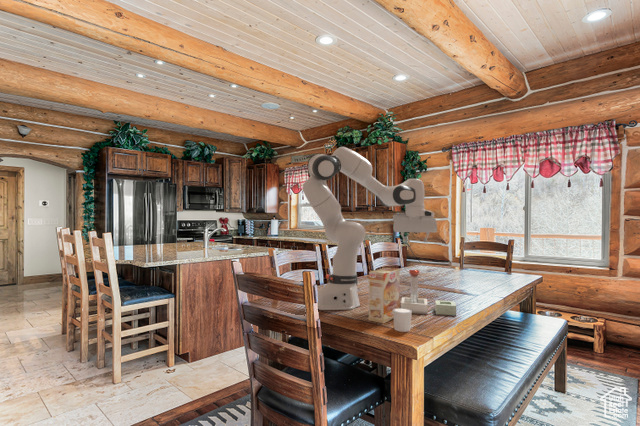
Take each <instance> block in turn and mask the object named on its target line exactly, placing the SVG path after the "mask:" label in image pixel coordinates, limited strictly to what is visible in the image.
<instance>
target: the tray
mask: <svg viewBox="0 0 640 426" xmlns="http://www.w3.org/2000/svg"><path fill="white" fill-rule="evenodd" d="M400 308H405V309H409V310H411V311H412V314H417V315H418V314H419V315H428V298H419V297H418V303H411V297H403V296H402V297H401V301H400Z"/></svg>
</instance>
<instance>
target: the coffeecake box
mask: <svg viewBox="0 0 640 426" xmlns="http://www.w3.org/2000/svg"><path fill="white" fill-rule="evenodd" d="M400 276H401V275H400V268H395V267H382V268H378V269H375V270H371V271H368V321H370V322H374V323H379V324H385V323H387V322H390V321H391V320H394V318H393V309H396V308H400V283H401V282H400V278H401V277H400Z"/></svg>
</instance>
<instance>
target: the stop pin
mask: <svg viewBox="0 0 640 426" xmlns="http://www.w3.org/2000/svg"><path fill="white" fill-rule="evenodd" d="M408 274H409V275H410V298H411V303H418V298H419V275H420V270H419V269H408Z"/></svg>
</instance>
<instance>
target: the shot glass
mask: <svg viewBox="0 0 640 426" xmlns="http://www.w3.org/2000/svg"><path fill="white" fill-rule="evenodd" d="M412 314H413V313H412V311H411V310H409V309H405V308H401V307H399V308H396V309H393V327H394V328H393V329H394V330H395V331H396V332H400V333H407V332H410V331H411V324H412Z"/></svg>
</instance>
